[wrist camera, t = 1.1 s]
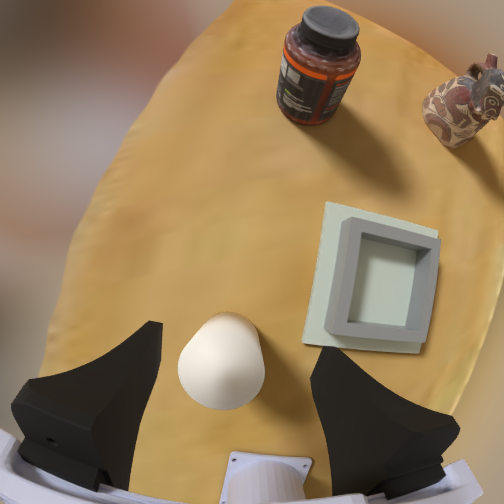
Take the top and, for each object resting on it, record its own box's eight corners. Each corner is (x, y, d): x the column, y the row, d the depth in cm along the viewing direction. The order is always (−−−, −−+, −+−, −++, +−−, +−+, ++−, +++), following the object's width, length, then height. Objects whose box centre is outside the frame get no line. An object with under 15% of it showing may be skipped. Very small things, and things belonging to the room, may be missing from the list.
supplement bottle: (339, 91, 25) (377, 17, 14) (327, 136, 25) (371, 61, 14) (284, 72, 25) (300, -10, 14) (267, 115, 25) (278, 29, 14)
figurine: (426, 140, 25) (493, 88, 13) (415, 89, 26) (467, 31, 14) (470, 154, 25) (536, 116, 13) (458, 105, 26) (512, 60, 14)
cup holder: (416, 352, 24) (433, 359, 20) (301, 341, 23) (308, 350, 20) (434, 231, 24) (453, 226, 21) (325, 203, 24) (335, 193, 21)
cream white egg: (252, 373, 23) (256, 415, 15) (195, 362, 23) (173, 400, 15) (263, 317, 24) (272, 339, 16) (204, 306, 24) (184, 322, 16)
